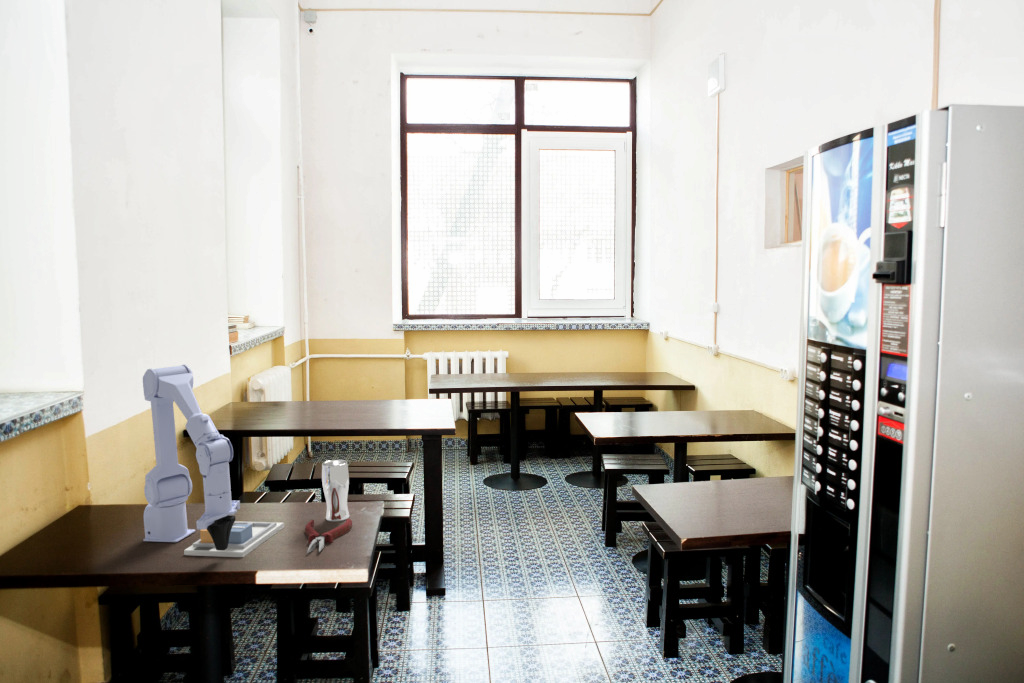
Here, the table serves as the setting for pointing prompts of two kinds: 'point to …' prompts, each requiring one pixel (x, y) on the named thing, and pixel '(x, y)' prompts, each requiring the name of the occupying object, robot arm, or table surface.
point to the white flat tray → (259, 533)
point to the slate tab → (240, 533)
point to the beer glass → (336, 489)
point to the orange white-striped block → (205, 536)
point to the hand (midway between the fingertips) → (221, 549)
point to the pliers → (324, 535)
